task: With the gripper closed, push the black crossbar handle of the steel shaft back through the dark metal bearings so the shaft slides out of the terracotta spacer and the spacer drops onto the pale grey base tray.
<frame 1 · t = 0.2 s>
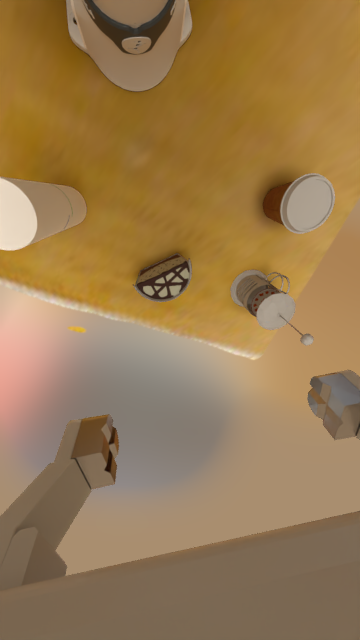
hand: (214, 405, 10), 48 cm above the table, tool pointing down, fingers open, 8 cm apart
disposable coffee cup: (276, 203, 52), on the table
french press: (251, 285, 60), on the table
food container: (164, 273, 56), on the table
cylindrical container: (67, 206, 47), on the table
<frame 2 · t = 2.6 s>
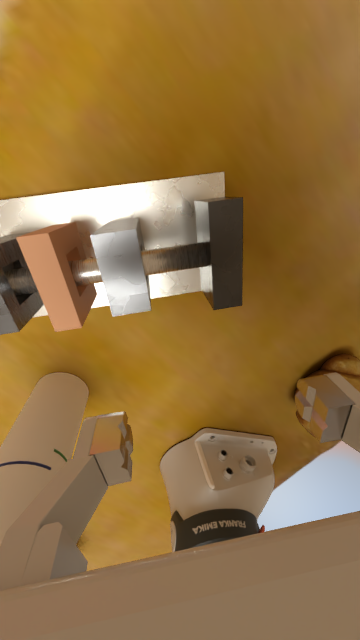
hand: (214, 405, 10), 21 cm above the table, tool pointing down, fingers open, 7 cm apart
shaft: (108, 268, 20), point 8 cm above the table, slide at 0.0 cm, touching spacer
bread roll: (320, 379, 41), on the table
spacer: (76, 262, 23), point 4 cm above the table, touching shaft
shaft frame: (117, 249, 27), on the table
cylindrical container: (63, 391, 35), on the table
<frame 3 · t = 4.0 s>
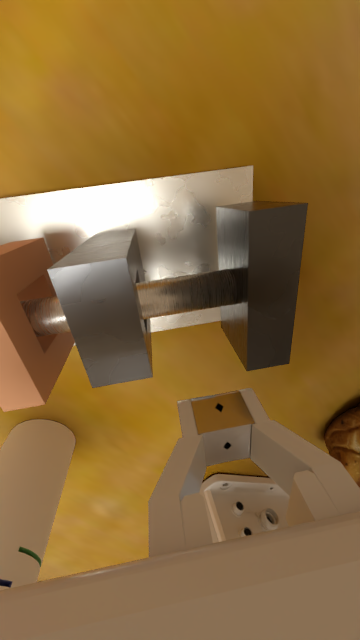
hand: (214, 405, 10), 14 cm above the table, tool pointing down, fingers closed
shaft: (88, 309, 13), point 8 cm above the table, slide at 0.0 cm, touching spacer
bread roll: (356, 416, 34), on the table
spacer: (48, 292, 17), point 4 cm above the table, touching shaft
shaft frame: (107, 269, 20), on the table
cylindrical container: (43, 439, 28), on the table
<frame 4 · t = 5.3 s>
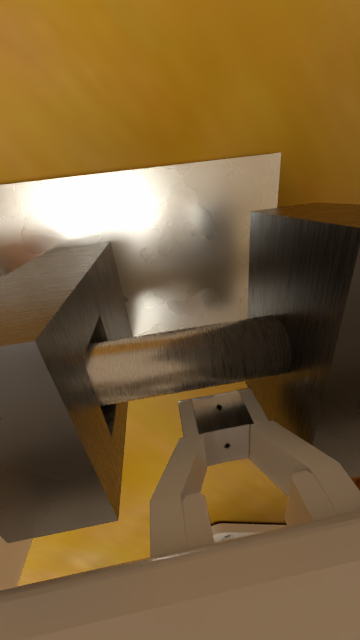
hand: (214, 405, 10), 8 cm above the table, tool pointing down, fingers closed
shaft: (36, 384, 8), point 8 cm above the table, slide at 0.7 cm, touching gripper, spacer
shaft frame: (74, 295, 15), on the table
cylindrical container: (5, 495, 23), on the table
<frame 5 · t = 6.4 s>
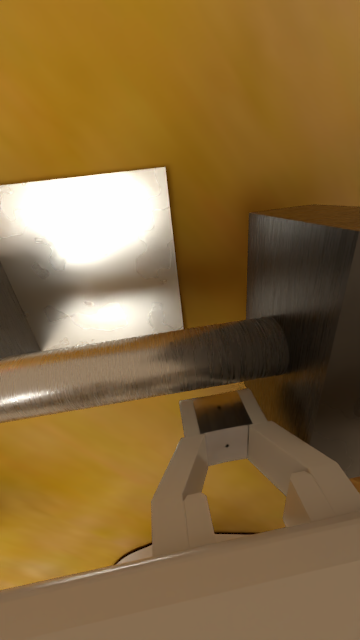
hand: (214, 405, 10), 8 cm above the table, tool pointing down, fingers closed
shaft: (35, 384, 8), point 8 cm above the table, slide at 6.4 cm, touching gripper, spacer
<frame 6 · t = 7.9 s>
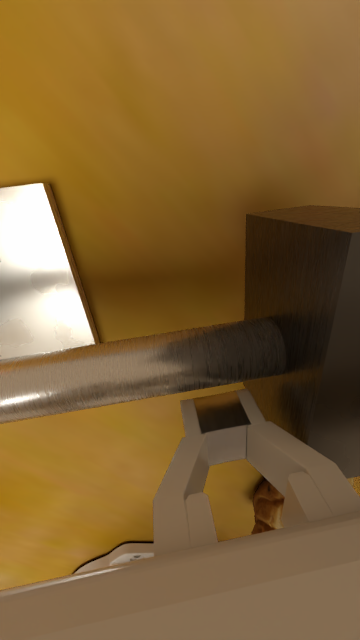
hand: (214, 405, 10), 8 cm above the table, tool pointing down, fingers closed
shaft: (34, 385, 8), point 8 cm above the table, slide at 12.0 cm, touching gripper
bread roll: (293, 475, 28), on the table
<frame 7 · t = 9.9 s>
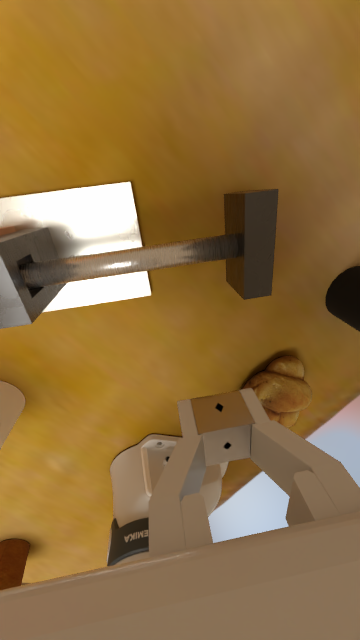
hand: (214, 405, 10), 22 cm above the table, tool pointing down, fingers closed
disposable coffee cup: (14, 544, 53), on the table
shaft: (142, 259, 20), point 8 cm above the table, slide at 12.0 cm
bread roll: (267, 381, 40), on the table
wine bottle: (350, 291, 34), on the table
shaft frame: (33, 258, 27), on the table
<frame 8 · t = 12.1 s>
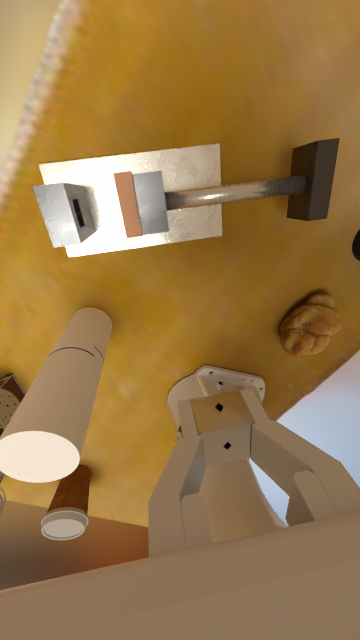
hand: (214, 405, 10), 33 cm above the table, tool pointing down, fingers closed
disposable coffee cup: (77, 471, 62), on the table
shaft: (238, 192, 29), point 8 cm above the table, slide at 12.0 cm
bread roll: (302, 318, 49), on the table
spacer: (131, 204, 35), point 1 cm above the table, touching shaft frame
shaft frame: (139, 203, 36), on the table
food container: (9, 393, 48), on the table
cylindrical container: (92, 324, 44), on the table
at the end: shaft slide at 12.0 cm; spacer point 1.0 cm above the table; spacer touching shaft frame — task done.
